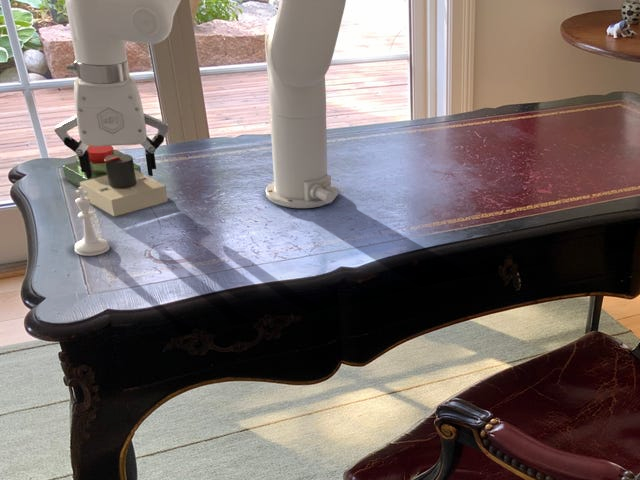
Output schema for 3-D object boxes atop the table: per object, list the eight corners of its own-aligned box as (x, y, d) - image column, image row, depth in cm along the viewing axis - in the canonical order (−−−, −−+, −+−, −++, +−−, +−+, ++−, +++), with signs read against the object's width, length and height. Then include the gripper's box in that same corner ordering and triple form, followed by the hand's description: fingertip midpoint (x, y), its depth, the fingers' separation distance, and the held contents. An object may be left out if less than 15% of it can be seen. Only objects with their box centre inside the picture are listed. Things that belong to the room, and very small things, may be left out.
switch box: (117, 167, 153) (113, 143, 151) (142, 180, 149) (139, 156, 147) (65, 179, 147) (60, 155, 144) (90, 193, 142) (85, 169, 140)
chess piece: (97, 258, 123) (85, 196, 118) (67, 252, 124) (54, 190, 118) (116, 244, 127) (105, 184, 122) (87, 239, 128) (75, 179, 123)
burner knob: (124, 176, 142) (119, 150, 140) (142, 183, 141) (138, 156, 138) (103, 184, 139) (98, 156, 136) (121, 190, 137) (116, 163, 135)
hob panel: (167, 201, 142) (165, 184, 141) (114, 217, 136) (111, 199, 134) (135, 184, 147) (133, 167, 145) (82, 198, 140) (79, 181, 139)
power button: (105, 151, 148) (104, 141, 147) (120, 158, 146) (118, 149, 145) (80, 157, 145) (78, 147, 144) (94, 164, 143) (92, 155, 142)
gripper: (41, 78, 124) (63, 185, 133) (162, 77, 129) (175, 180, 139) (44, 65, 129) (65, 168, 139) (160, 65, 135) (172, 164, 145)
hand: (120, 174), depth 139 cm, fingers open, 9 cm apart
